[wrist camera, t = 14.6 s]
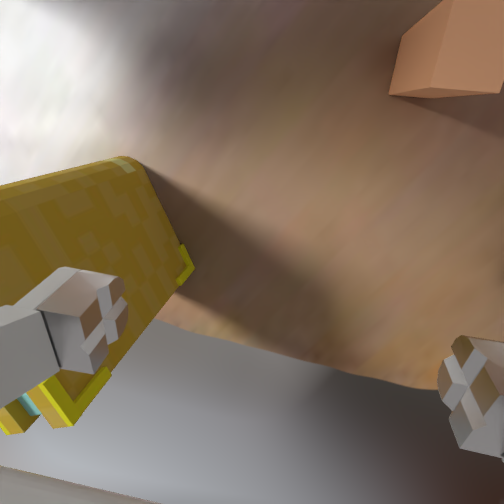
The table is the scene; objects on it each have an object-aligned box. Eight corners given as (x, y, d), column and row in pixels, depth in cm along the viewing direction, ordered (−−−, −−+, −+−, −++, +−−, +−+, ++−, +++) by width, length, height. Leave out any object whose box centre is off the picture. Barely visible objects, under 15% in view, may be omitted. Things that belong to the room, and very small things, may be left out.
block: (430, 98, 33) (499, 93, 20) (388, 94, 33) (429, 87, 21) (446, 38, 31) (535, -9, 18) (401, 35, 31) (457, -13, 19)
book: (195, 268, 46) (73, 425, 23) (154, 280, 48) (6, 434, 25) (138, 148, 40) (-92, 200, 18) (95, 166, 42) (-160, 234, 20)
